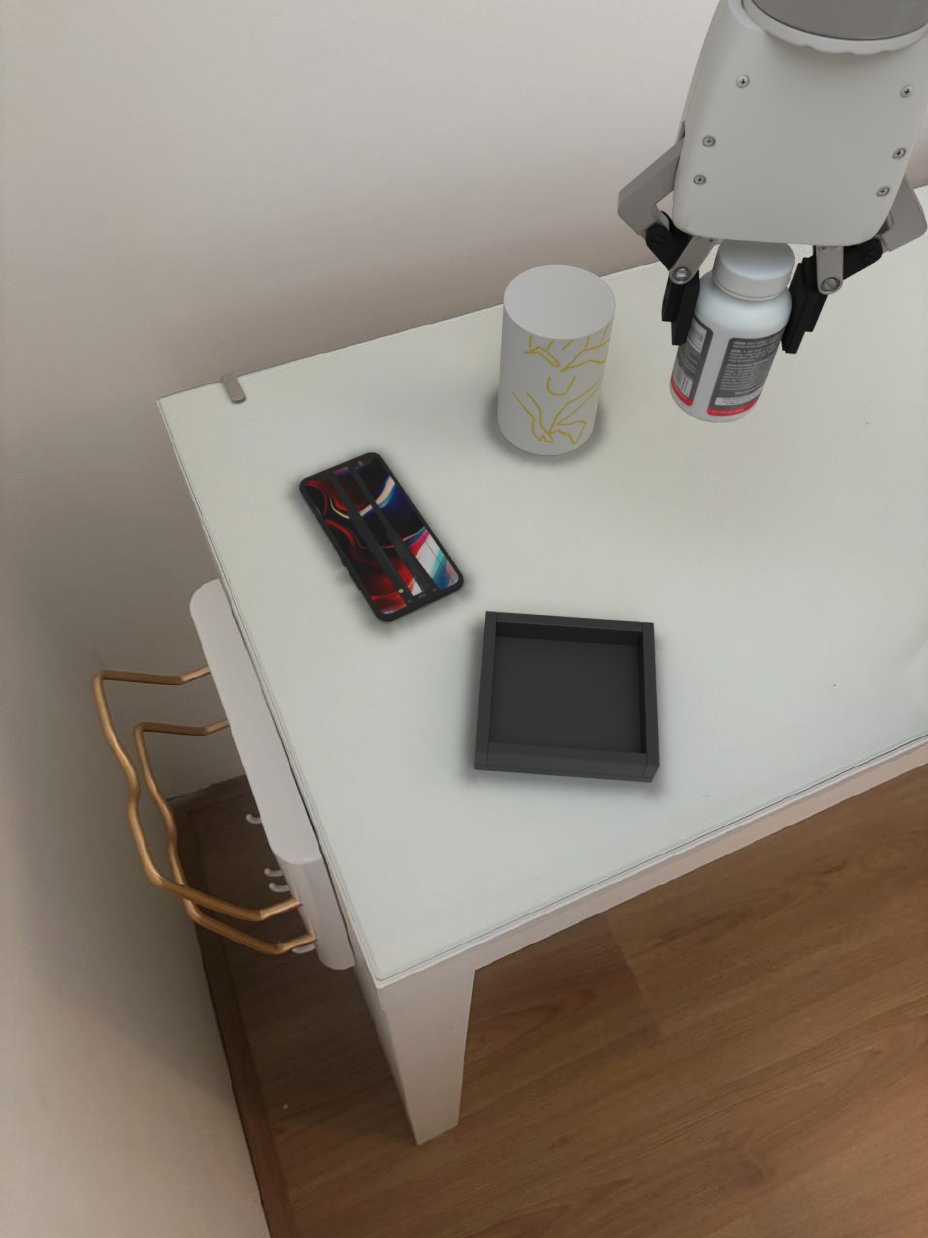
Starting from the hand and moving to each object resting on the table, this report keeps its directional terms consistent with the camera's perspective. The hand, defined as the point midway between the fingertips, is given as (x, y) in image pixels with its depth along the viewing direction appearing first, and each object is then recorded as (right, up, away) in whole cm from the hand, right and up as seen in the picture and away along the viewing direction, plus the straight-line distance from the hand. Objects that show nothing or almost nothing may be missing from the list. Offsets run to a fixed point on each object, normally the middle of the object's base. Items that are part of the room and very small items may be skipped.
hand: (732, 330), depth 51 cm
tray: (-8, -22, +11) cm, 26 cm away
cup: (-8, 0, +25) cm, 27 cm away
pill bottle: (0, -3, +4) cm, 5 cm away
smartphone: (-22, -10, +19) cm, 30 cm away
